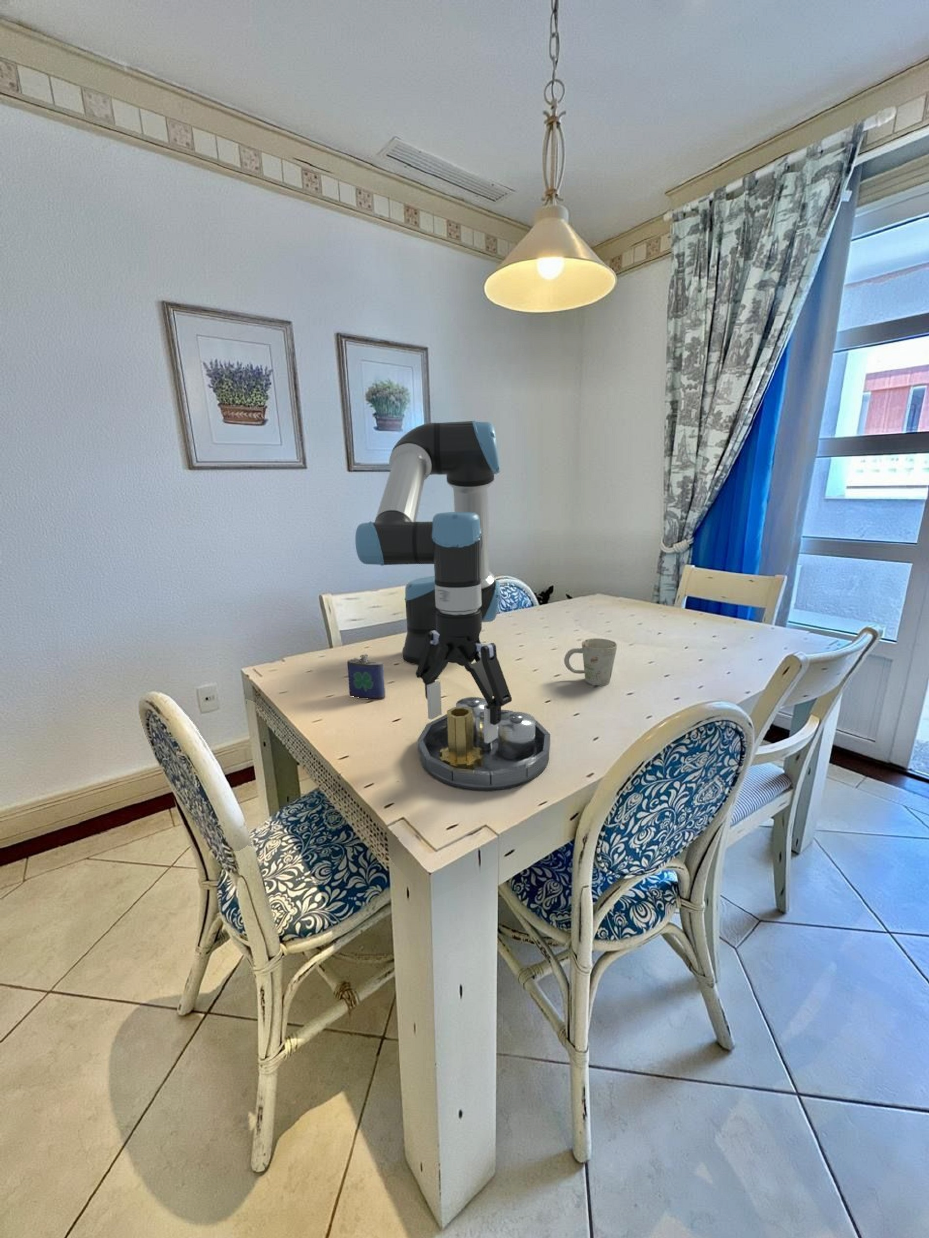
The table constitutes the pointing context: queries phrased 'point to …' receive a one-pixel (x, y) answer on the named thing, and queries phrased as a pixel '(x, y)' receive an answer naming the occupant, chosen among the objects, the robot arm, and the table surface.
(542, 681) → the table surface
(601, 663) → the mug
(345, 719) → the table surface
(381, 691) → the flask
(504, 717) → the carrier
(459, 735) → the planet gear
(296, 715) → the table surface
